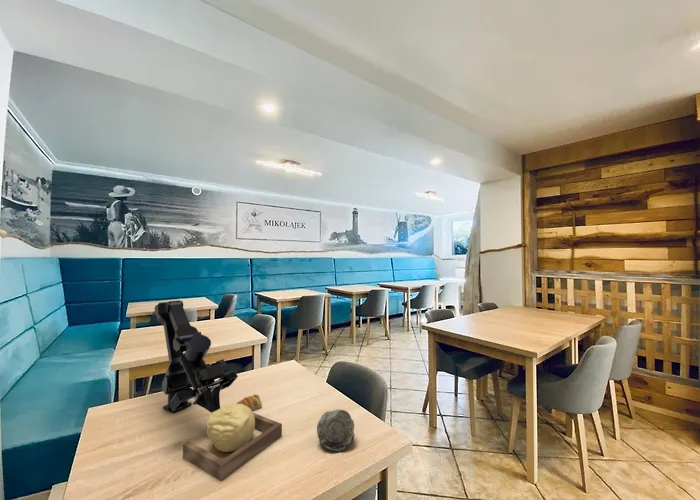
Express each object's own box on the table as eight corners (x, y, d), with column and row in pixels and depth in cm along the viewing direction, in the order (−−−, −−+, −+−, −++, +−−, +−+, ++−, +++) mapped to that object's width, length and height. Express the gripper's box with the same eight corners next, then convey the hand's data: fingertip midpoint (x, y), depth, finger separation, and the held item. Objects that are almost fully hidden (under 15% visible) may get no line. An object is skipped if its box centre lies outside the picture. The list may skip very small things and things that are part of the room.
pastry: (236, 418, 96) (236, 406, 96) (228, 410, 101) (228, 399, 101) (263, 408, 103) (263, 397, 103) (254, 401, 108) (254, 390, 108)
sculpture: (199, 456, 78) (200, 414, 78) (225, 429, 90) (226, 393, 90) (240, 461, 76) (241, 418, 76) (261, 433, 88) (262, 396, 88)
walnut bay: (182, 457, 77) (182, 444, 77) (245, 420, 94) (245, 409, 94) (221, 480, 69) (221, 465, 69) (281, 436, 87) (281, 423, 87)
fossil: (325, 457, 77) (317, 414, 81) (314, 455, 84) (308, 416, 88) (362, 444, 81) (353, 404, 86) (349, 443, 89) (342, 406, 93)
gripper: (176, 362, 80) (200, 415, 75) (234, 345, 97) (258, 387, 91) (160, 385, 84) (182, 437, 79) (218, 364, 100) (240, 406, 95)
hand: (218, 415), depth 86 cm, fingers closed, pressing on sculpture
